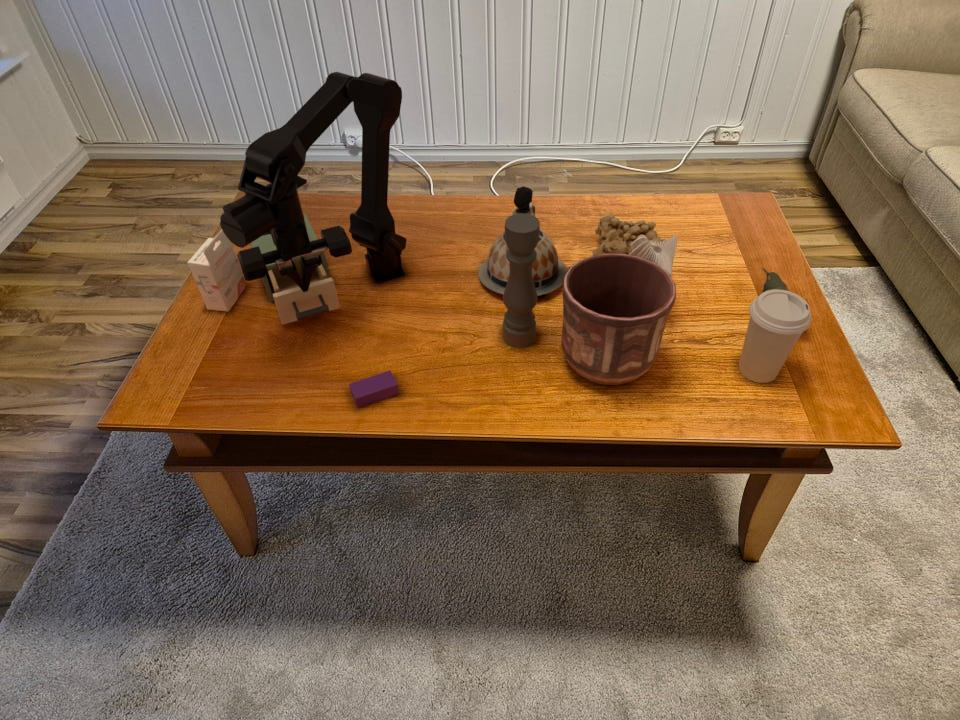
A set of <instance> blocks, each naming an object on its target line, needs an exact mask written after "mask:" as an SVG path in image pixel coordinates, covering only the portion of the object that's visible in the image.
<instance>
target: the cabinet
mask: <svg viewBox="0 0 960 720" xmlns="http://www.w3.org/2000/svg"><path fill="white" fill-rule="evenodd" d="M303 216H304V220H305V224H306V228H307V232H308V236H309V239H312V240H313V241H314V240H318V239H319V238H318V237H317V234H316V232H315V230H314V228H313V226H312V224H311V221H310V220H309V218H308V215H307V214H304V213H303ZM249 245H250V248H254V247H257V246H259V248H260V251H261V253H265V252H269V251H273V250H277V249H276V245H274V243H273V240H272V236H271V234H268V235H264V236H261V237H259V238H258V239H256V240H255V241H253V242H251V243H250V244H249ZM318 253H319V254H318V256H319V258H320V261H321V264H322V266H323V268H324V270H325V272H326V274H327V278H331V277H330V273H329V269H328V264H327V259H326V255H325V250H324V251H320V252H318ZM292 260H293V262H296V261H300V259H299V257H298V258H294V259H292ZM274 267H277V266H276V264H275V263H272V264H268V265H266V268H267V269H270V268H274ZM261 280H262V282H263V285H264V287H265V291H266V294H267V296H268V299H269V302H270V303H273V302H275V301H274V297H273V294H274V290H273V288H272V285H271V282H270V279H269V276H268V273H267V274H266V276H265V277H263V278H261Z"/></svg>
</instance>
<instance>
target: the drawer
mask: <svg viewBox="0 0 960 720" xmlns="http://www.w3.org/2000/svg"><path fill="white" fill-rule="evenodd" d="M294 264H295V266H296V268H297V271H298V273H299V275H300V277H301V279H302V273H301V265H300V261H296V262H294ZM267 271H268V276H269V279H270V282H271V285H272V288H273V290H274V294H273V297H274V301H273V302H274V303H275V307H276V310H277V313H278V316H279V320H280V322H281V325H287V324H290V323H293V322H296V321H298V322H299V321H302V320H305V319H308V318H309V319H310V318H312V317H315V316H316V317H317V316H319V315H322V314H327V313H329V312H330V311H333V310H337V309H340V308H341V306H340V301H339V298H338V294H337V288H336V285H335V280H334V278H333V277H330V278H327V274H326V272H325V270H324V268H323V266H322V264H321V265H320V266H317V267H316V269H315V271H314V273H313V275H312V278H311V282H310V286H309V289H308V291H307V292H303V291H302V290H301V288H300V287H299V286H298V285H297V284H296V283H295V282H294V281H293V280H292V279H291V278H290V277H288V276H287V275H284V276H282V275H280V273H279V271H278V268H277V267H274V268H270V269H267ZM302 282H303V281H302Z"/></svg>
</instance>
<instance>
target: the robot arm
mask: <svg viewBox="0 0 960 720" xmlns="http://www.w3.org/2000/svg"><path fill="white" fill-rule="evenodd" d="M402 102H403V91H402V87H401V86H400V85H399V83H398V82H397V81H396V80H393V79H390V78H387V77H383V76H380V75H376V74H374V73H373V74H372V73H370V72H364V73H361V74H360V75H358V77H357V76H355V75H350V74H347V73H343V72H339V71H333V72H330V73H329V74H328V75H327V76H326V79H325V82H324V83H323V84H322V85H321V87H319V88H318V90H316V92H314V94H313V95H311V96H310V98H308V99H307V101H306V102H305V103H304V104H303V105H302V106H301V107H300V108H299V109H298V110H297V111H296V112H295V113H294V114H293V115H292V116H291V117H290V119H288V121H287V122H286V123H285V124H283V125H282V126H281V127H279V128H277V129H273V130H271V131H268V132H267V131H266V132H265V133H263V134H262V135H261V136H259V137H258V138H257V139H255V140H254V141H253V142H251V143H250V144H249V145H248V147H247V148H246V150H245V153H244V155H245V158H244V163H243V167H242V170H241V175H240V179H239V183H238V186H237V190H238V191H240V192H241V193H244V194H245V195H243V196H242V197H240V198H238V199H236V200H234V201H232V202H229V203H227V204H225V205H223V206H222V211H223V213H222V214H221V215H220V219H219V221H220V222H219V225H220V229H221V230H223V232H224V234H225V235H226V237H227V238H228V239H229V240H230V241H231V242H232V245H233V246H236V247H237V248H240V249H241V250H239V251H238V253H236V256H237V259H238V262H239V265H240V267H241V270H242V273H243V276H244V279H245V282H252V281H255V280H258V279H259V280H260V279H262V278H263V277H265V276H266V274H267V273H268V271H267V268H266V265H268V264H272V263H275V264H276V266H277V268H278V271H279V273H280V275H282V276H284V275H287V276H288V277H290V278H291V279H292V280H293V281H294V282H295V283H296V284H297V285H298V286H299V287H300V288H301V290H302V291H303V292H307V291H308V289H309V286H310V282H311V278H312V275H313V273H314V271H315V269H316V267H317V266H320V265H321V261H320V258H319V256H318V254H319V253H318V252H320V251H324V252H325V251H327V250H328V251H329V255H330V256H332V257H334V258H336V259H337V258H340V257H344V256H347V255H350V254H352V253H353V248H352V243H351V240H350V238H349V236H348V234H347V233H346V231H345V229H344V227H343V226H341V225H336V226H331V227H328V228H323V229H320V236H321V238H318V240H314V241H313V240H312V239H309V236H308V232H307V228H306V224H305V220H304V216H303V215H304V211H303V208H302V204H301V200H300V195H299V191H298V189H299V188H301V187H302V186H304V185H306V184H307V183H308V180H307V179H306V178H304V177H301V176H300V175H299V174H300V173H301V171H302V169H303V168H304V166H305V165H306V158H307V152H308V151H309V150H310V148H311V147H312V146H313V144H314V143H315V142H316V141H317V140H318V139H319V138H320V137H321V136H322V135H323V134H324V132H326V131H327V130H328V129H329V128H330V126H331V125H332V124H333V123H334V122H336V120H337V118H339V117H340V116H341V114H342V113H344V111H345V110H346V109H347V108H348V107H349V106H350V104H352V103H353V104H352V105H353V111H354V113H355V115H356V118H357V119H358V122H359V124H360V126H361V130H362V131H361V180H360V181H361V184H360V185H361V187H360V188H361V189H360V192H361V193H360V204H359V206H358V207H357V209H356V210H355V212H351V213H350V214H349V229H348V233H349V234H351V235H350V236H351V239H352V240H353V241H354V242H355V243H357V244H358V245H359V246H360V247H363V248H365V251H366V253H365V254H364V259H365V264H366V271H367V273H368V274H369V276H370V277H371V278H373V280H374V282H375V283H376V284H381V283H384V282H387V281H390V280H391V281H392V280H394V279H398V278H401V277H405V276H406V271H405V270H404V268H403V263H402V255H403V251H404V250H405V249H406V247H407V238H406V237H405V236H402V235H400V234H397V233H396V223H395V218H394V216H393V215H392V212H391V211H390V208H389V206H388V197H389V196H388V193H389V169H390V146H391V145H390V144H391V130H392V128H393V126H394V125H395V124H396V122H397V121H398V119H399V117H400V113H401V108H402ZM257 178H258V179H260V180H263V181H265V182H267V183H268V184H267V185H263V184H261V183H259V182H256V179H257ZM268 234H271V236H272V240H273V243H274V245H276V249H277V250H273V251H269V252H265V253H261V251H260V248H259V246H257V247H254V248H251V247H250V248H246V249H243V248H245V247H247V246H248V245H250V243H251V242H253V241H255V240H256V239H258V238H259V237H261V236H264V235H268ZM242 249H243V250H242ZM298 257H299V259H300V265H301V273H302V279H301V277H300V275H299V273H298V271H297V268H296V266H295V264H294V262H293V260H292V259H294V258H298ZM302 281H303V282H302Z"/></svg>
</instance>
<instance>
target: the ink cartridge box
mask: <svg viewBox="0 0 960 720" xmlns="http://www.w3.org/2000/svg"><path fill="white" fill-rule="evenodd" d="M186 263H187V265H188V268H189V270H190V273H191V274H192V277H193V279H194V282H195V284H196V286H197V289H198V291H199V292H200V295H201V298H202V300H203V302H204V304H205V307H206V309H207V310H208V311H209V310H210V311H219V312H230V311H231V309H232V308H233V306H234V305H235V304H236V302H237V301H238V299H239V298H240V297H241V295H242V294H243V292H245V290H246V288H247V286H248V285H247V281H246V280H245V278H244V275H243V272H242V269H241V266H240V263H239V260H238V257H237V253H236V250H235V248H234V244H233V243H232V242H231V241H230V240H229V239H228V238H227V237H226V235H225V234H224V232H223V230H222V229H220V230H219V232H218V233H217V234H216V235H215V237H208V238H207V239H206V240H205V241H204V242H203V244H201V246H200V247H199V248H198V249H197V250H196V252H195V253H194V254H193V255H192V256H191V257H190V259H189V260H188V261H187V262H186Z"/></svg>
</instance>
